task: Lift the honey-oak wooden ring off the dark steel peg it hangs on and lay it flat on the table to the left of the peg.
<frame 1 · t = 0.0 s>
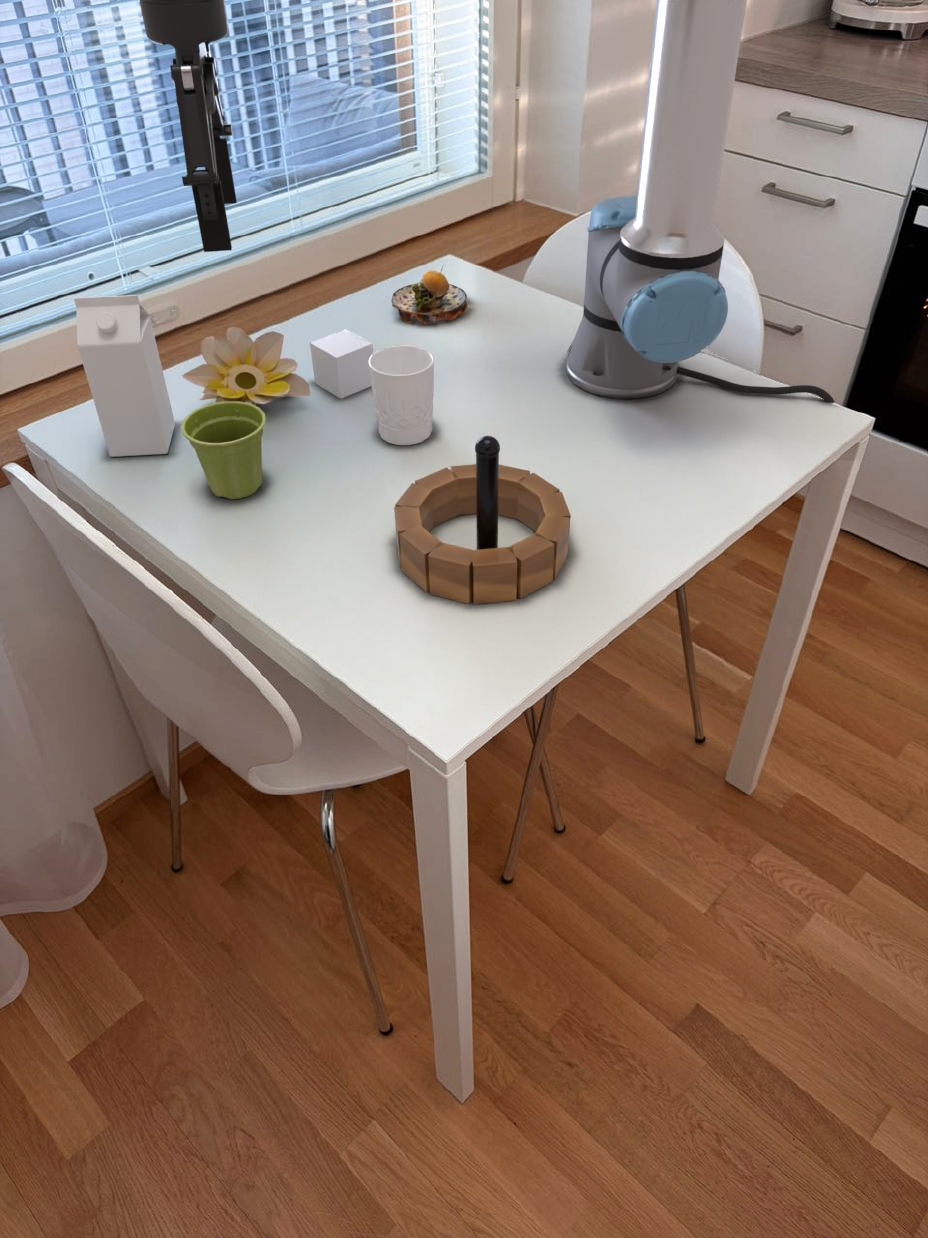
hand: (221, 225, 104), 28 cm above the table, tool pointing down, fingers open, 13 cm apart
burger: (429, 309, 154), on the table
milk carton: (144, 442, 126), on the table
peg: (487, 570, 105), on the table
plant pot: (236, 487, 118), on the table
ring: (481, 548, 108), on the table
decorative flower: (249, 407, 132), on the table
white cup: (405, 433, 126), on the table
white cube: (345, 384, 136), on the table
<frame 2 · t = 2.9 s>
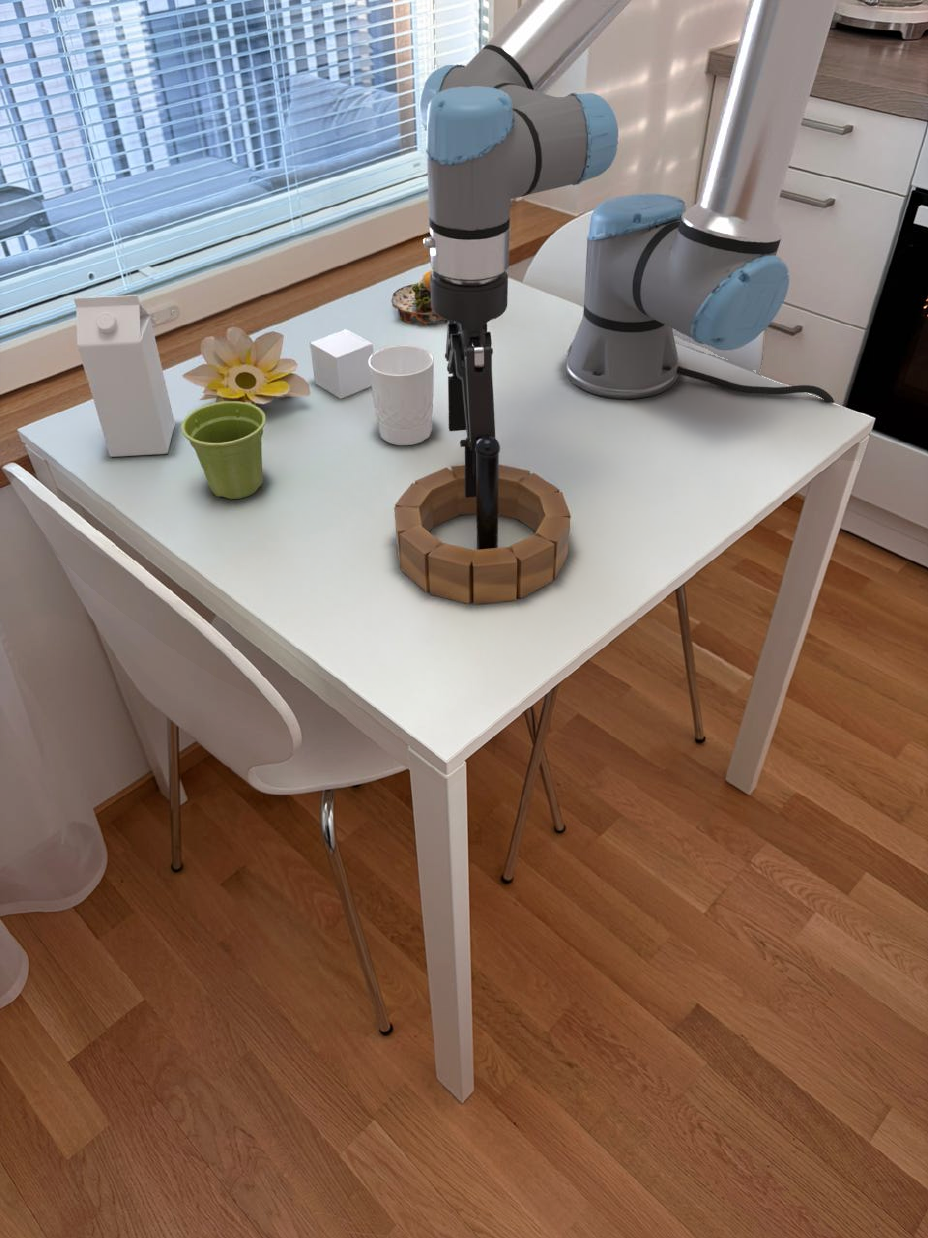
hand: (468, 460, 109), 6 cm above the table, tool pointing down, fingers open, 13 cm apart
nothing on the table moved.
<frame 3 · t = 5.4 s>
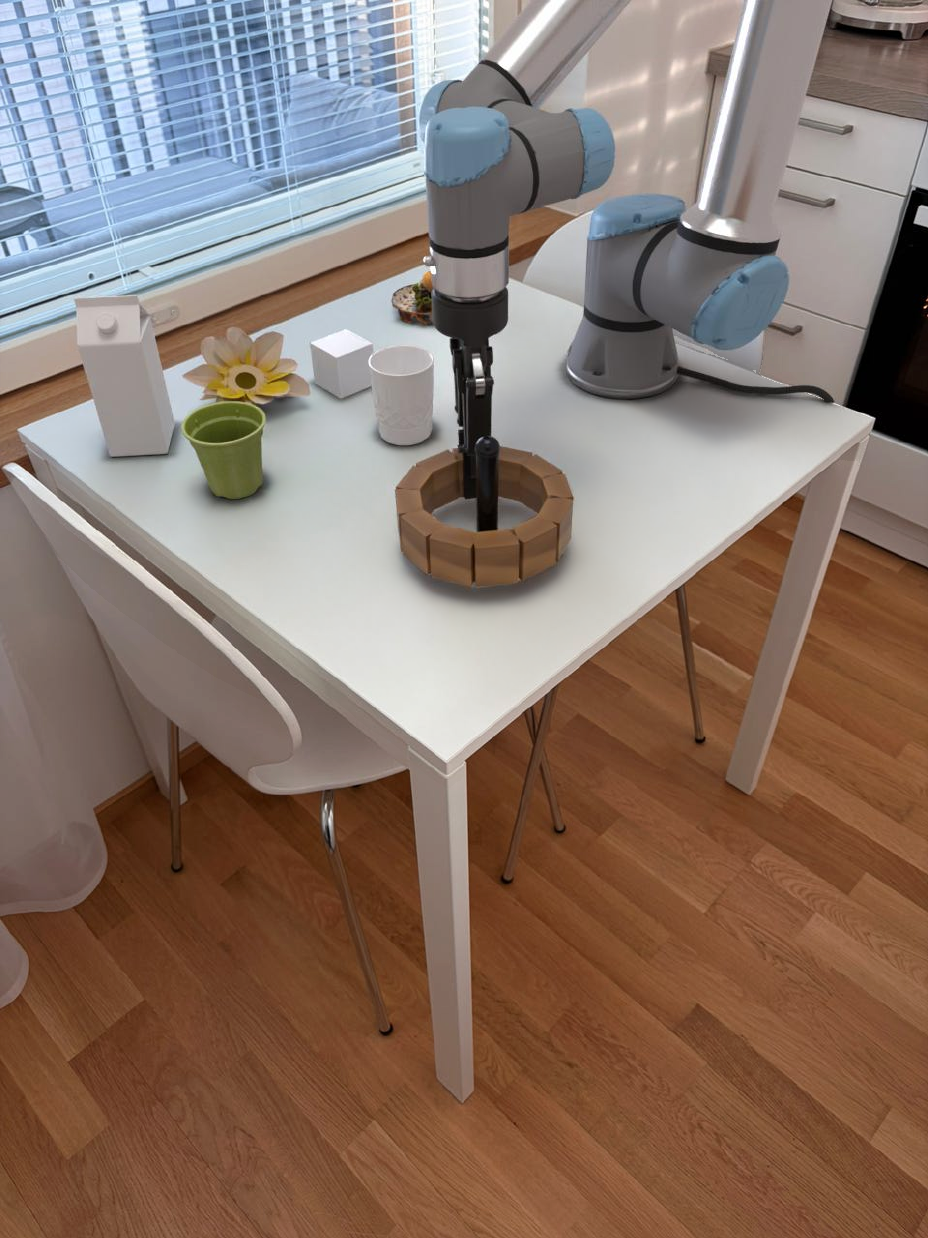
hand: (474, 487, 112), 3 cm above the table, tool pointing down, fingers closed on ring, 3 cm apart
ring: (483, 531, 107), point 2 cm above the table, touching gripper
everything else where it was.
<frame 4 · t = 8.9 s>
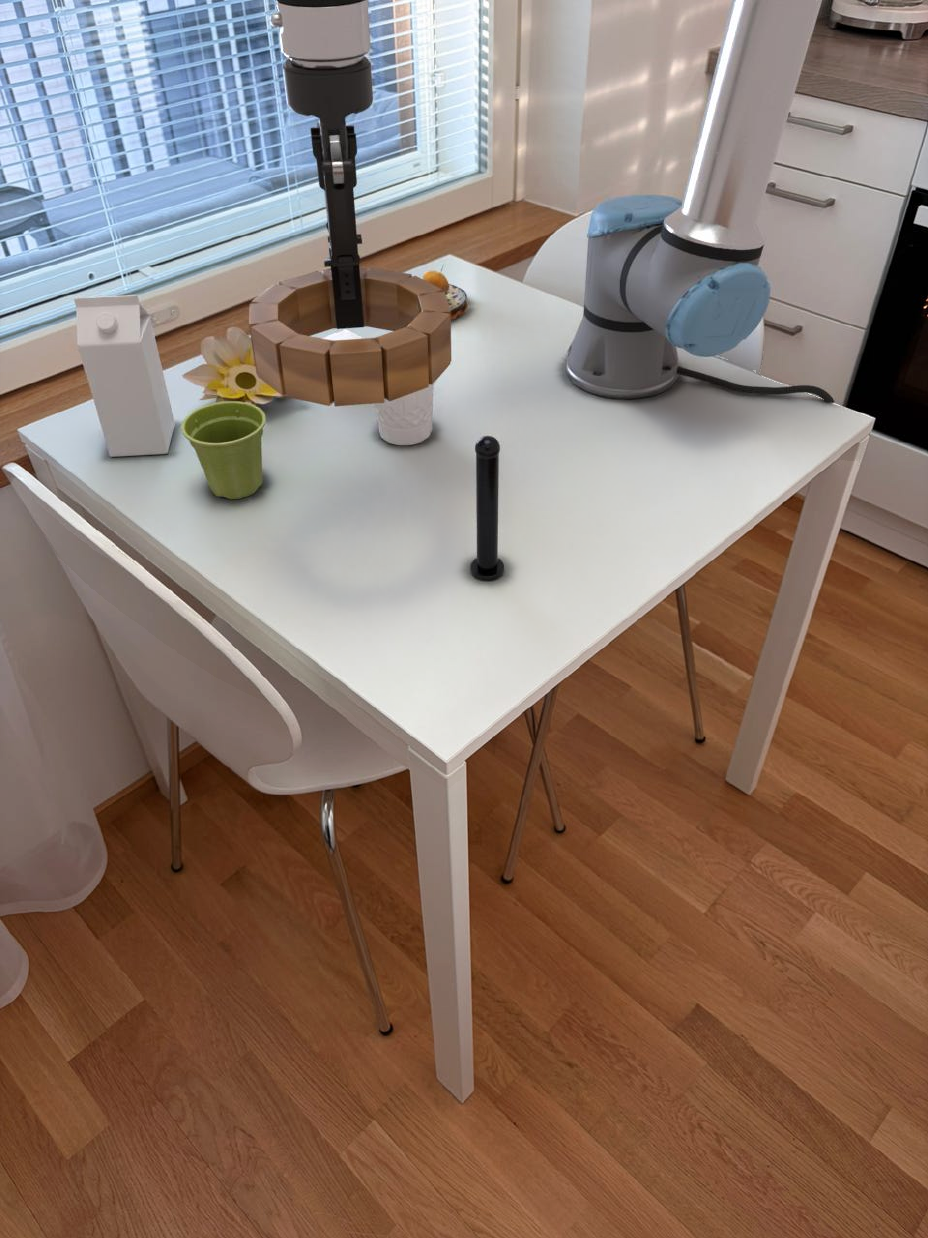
hand: (349, 318, 100), 22 cm above the table, tool pointing down, fingers closed on ring, 3 cm apart
ring: (353, 357, 94), point 22 cm above the table, touching gripper
everything else where it was.
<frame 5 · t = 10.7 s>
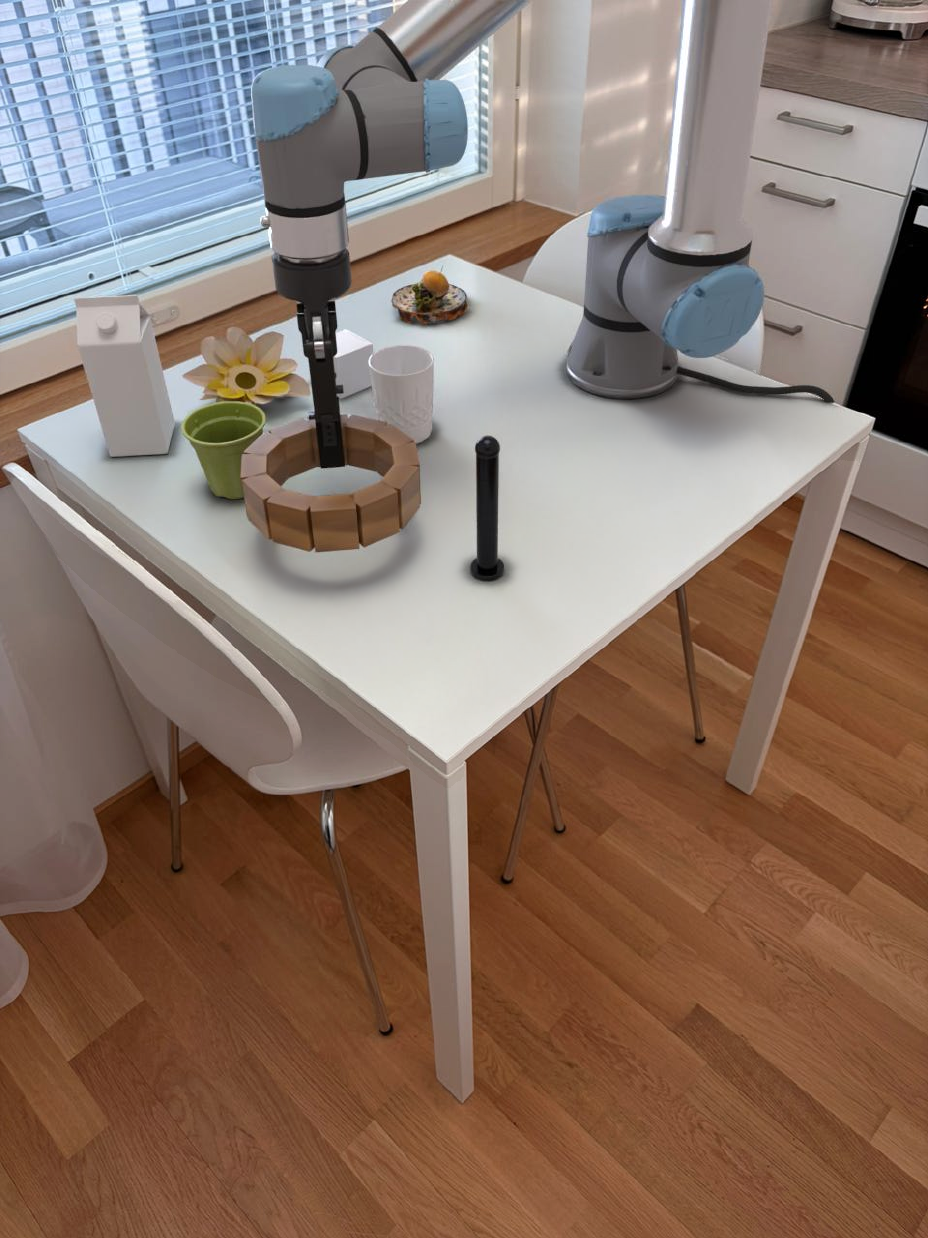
hand: (332, 457, 111), 6 cm above the table, tool pointing down, fingers closed on ring, 3 cm apart
ring: (334, 499, 106), point 5 cm above the table, touching gripper
everything else where it was.
when the fingers open (0 cm above the table, at t = 12.5 s): ring stays where it is, on the table.
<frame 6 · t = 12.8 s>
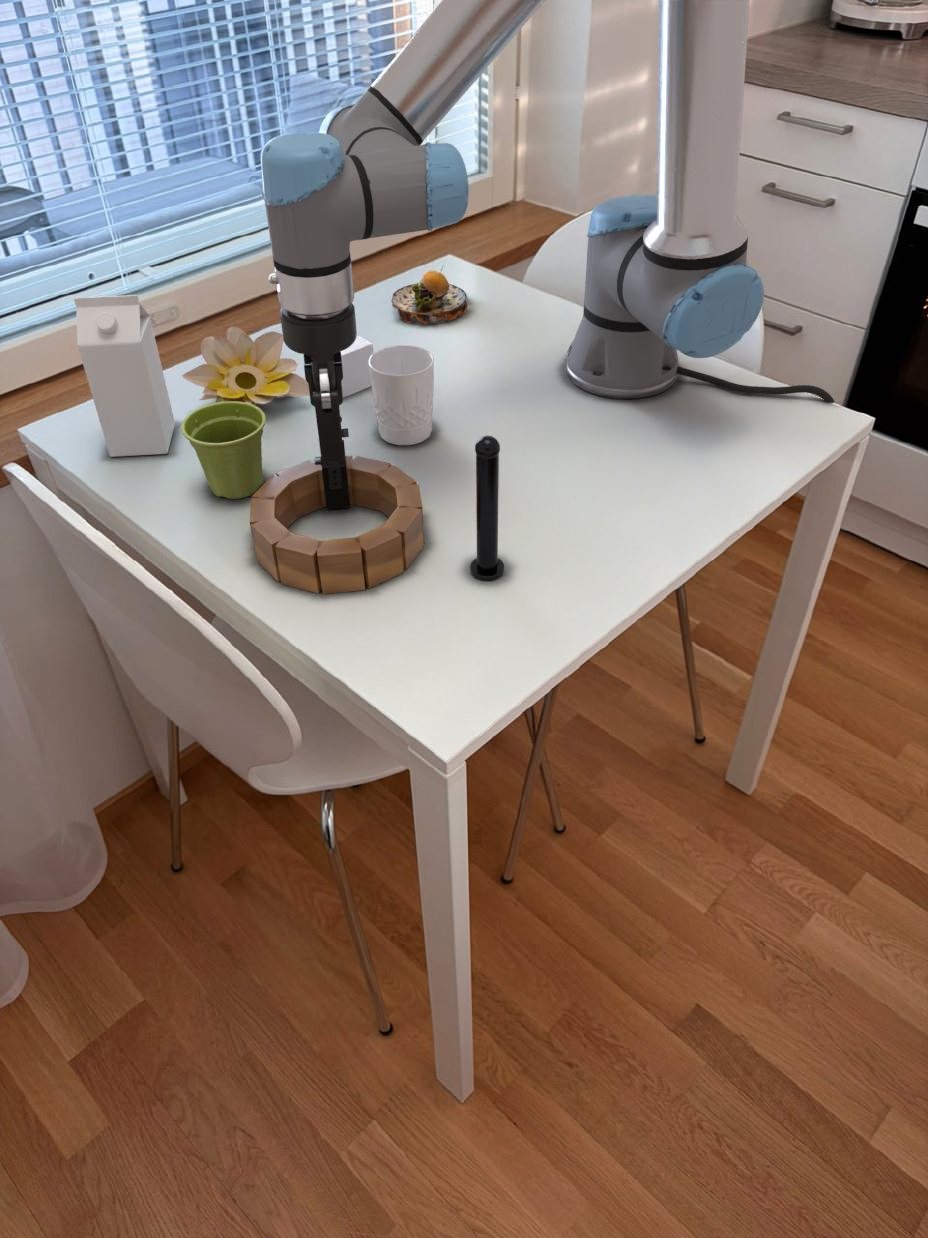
hand: (337, 498, 115), 0 cm above the table, tool pointing down, fingers open, 3 cm apart
ring: (340, 539, 109), on the table, touching gripper
everything else where it was.
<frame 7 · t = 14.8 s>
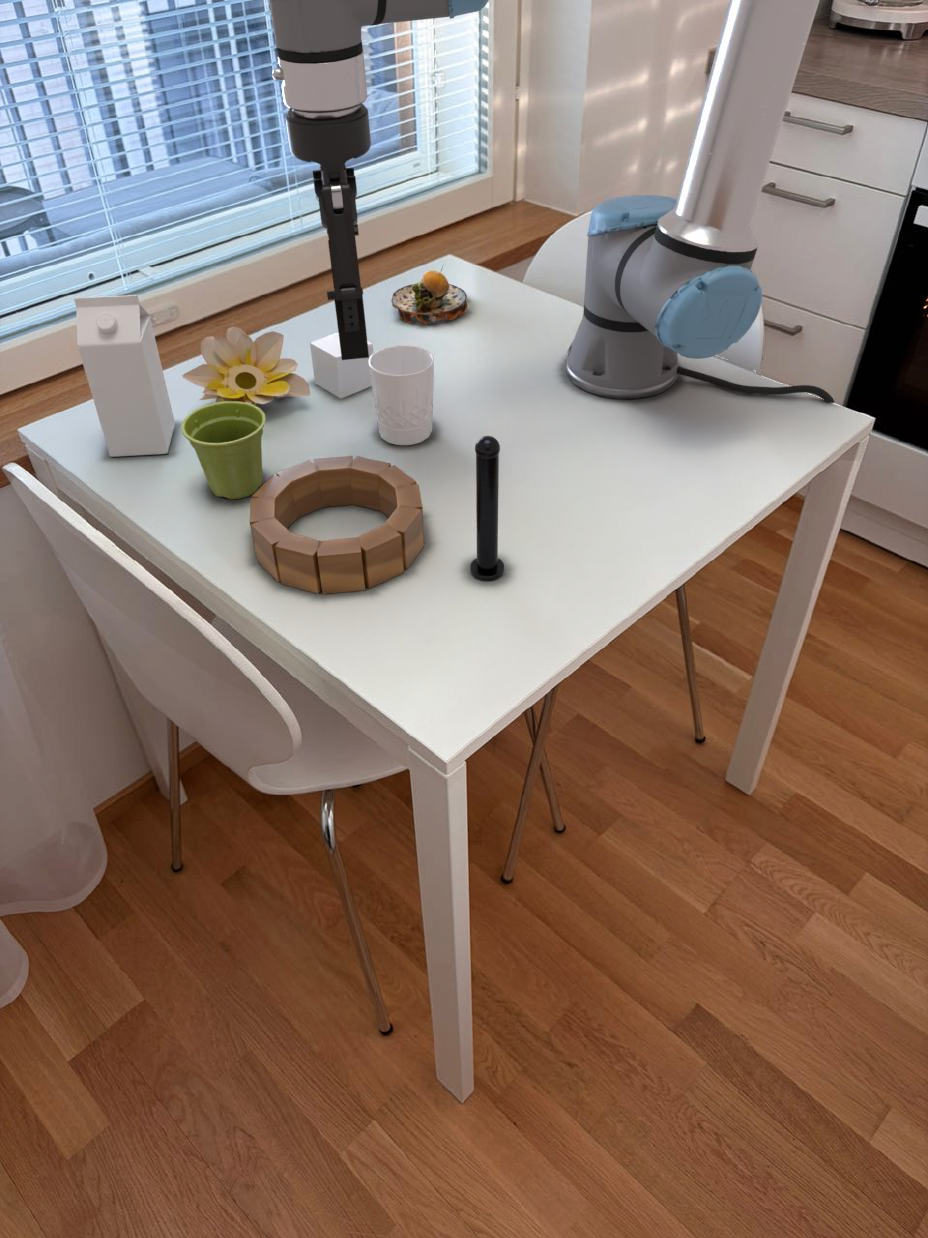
hand: (351, 327, 104), 20 cm above the table, tool pointing down, fingers open, 13 cm apart
ring: (340, 539, 109), on the table
everything else where it was.
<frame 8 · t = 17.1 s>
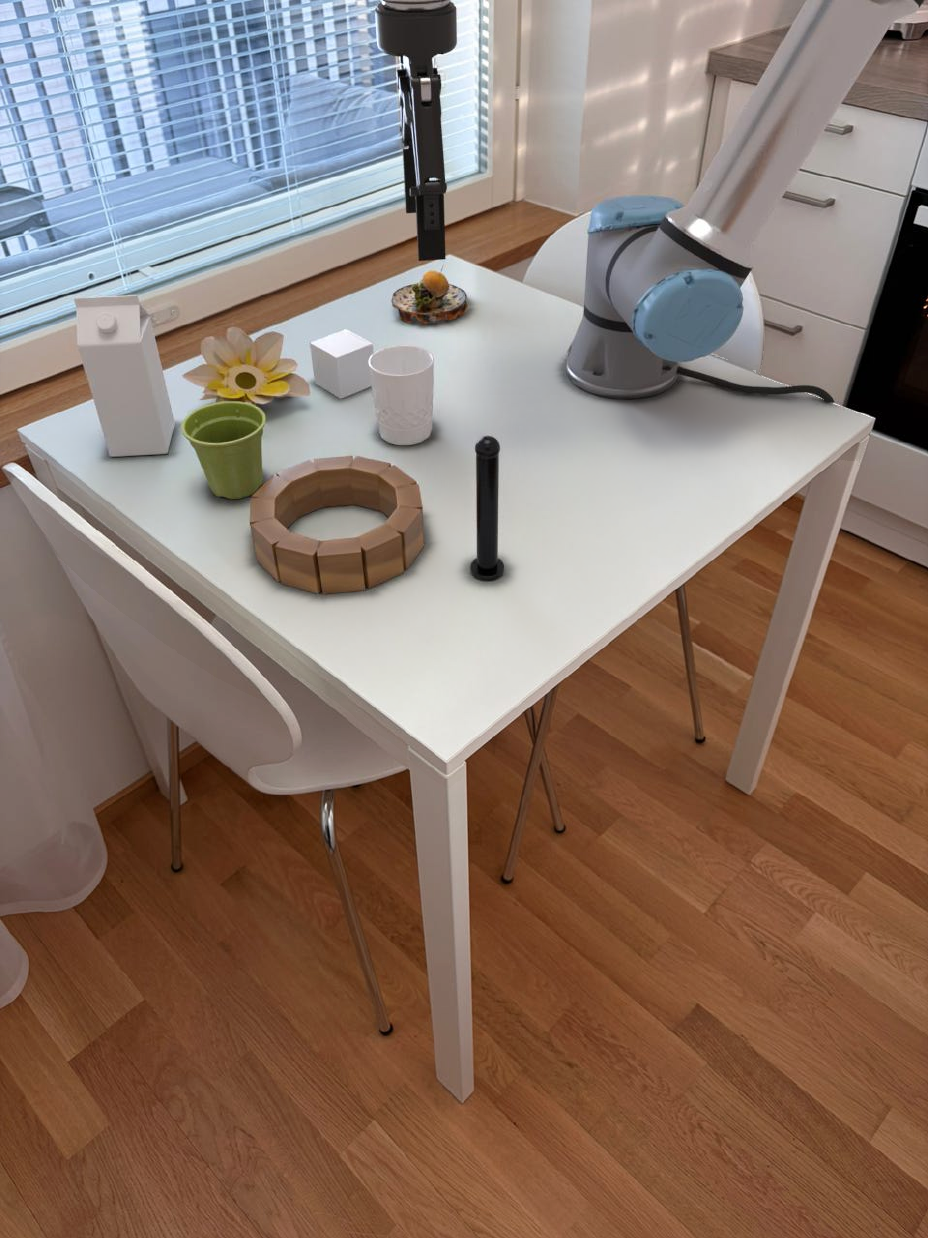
hand: (424, 234, 105), 27 cm above the table, tool pointing down, fingers open, 13 cm apart
nothing on the table moved.
at the end: ring inside the target area (0.2 cm from its centre), on the table; ring tilted 0°; the gripper is holding nothing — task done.
